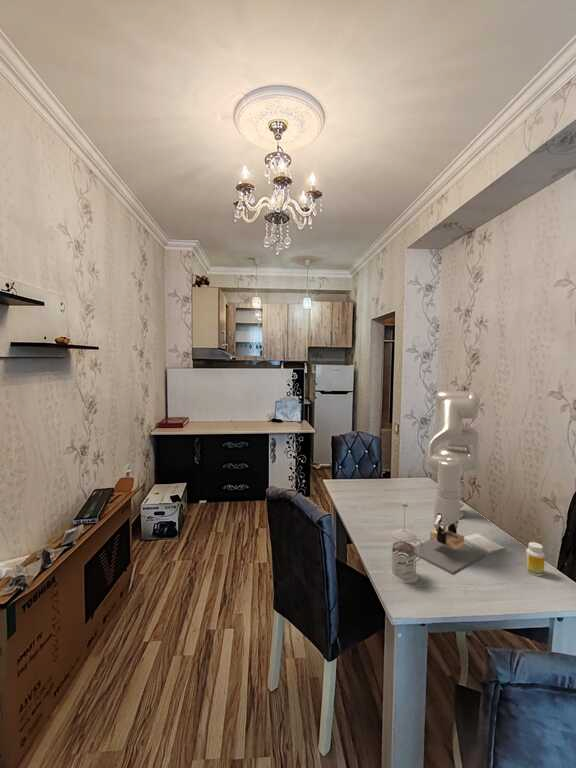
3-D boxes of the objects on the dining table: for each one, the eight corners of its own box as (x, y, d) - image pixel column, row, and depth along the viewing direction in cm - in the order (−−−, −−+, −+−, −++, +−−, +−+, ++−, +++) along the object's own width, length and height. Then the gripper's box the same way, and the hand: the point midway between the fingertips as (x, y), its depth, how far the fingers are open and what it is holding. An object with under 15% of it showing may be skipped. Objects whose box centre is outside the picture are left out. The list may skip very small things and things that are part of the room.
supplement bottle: (521, 567, 125) (522, 541, 125) (536, 567, 126) (537, 540, 125) (532, 576, 120) (533, 549, 119) (548, 576, 120) (549, 548, 120)
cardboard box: (463, 544, 132) (464, 535, 132) (455, 549, 129) (456, 540, 128) (438, 534, 140) (438, 526, 140) (430, 539, 136) (430, 530, 136)
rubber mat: (441, 536, 148) (441, 534, 148) (485, 555, 134) (485, 553, 133) (407, 551, 136) (408, 549, 136) (452, 574, 121) (452, 572, 121)
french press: (384, 566, 126) (385, 497, 124) (416, 565, 127) (417, 496, 125) (394, 583, 116) (395, 508, 115) (429, 582, 117) (430, 507, 115)
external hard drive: (489, 555, 135) (462, 540, 146) (505, 551, 137) (477, 536, 149) (490, 551, 134) (463, 536, 146) (505, 547, 137) (477, 533, 149)
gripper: (451, 486, 141) (450, 530, 142) (425, 494, 132) (424, 542, 133) (470, 491, 135) (468, 538, 136) (443, 501, 126) (442, 550, 126)
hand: (446, 539), depth 134 cm, fingers closed on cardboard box, 6 cm apart
